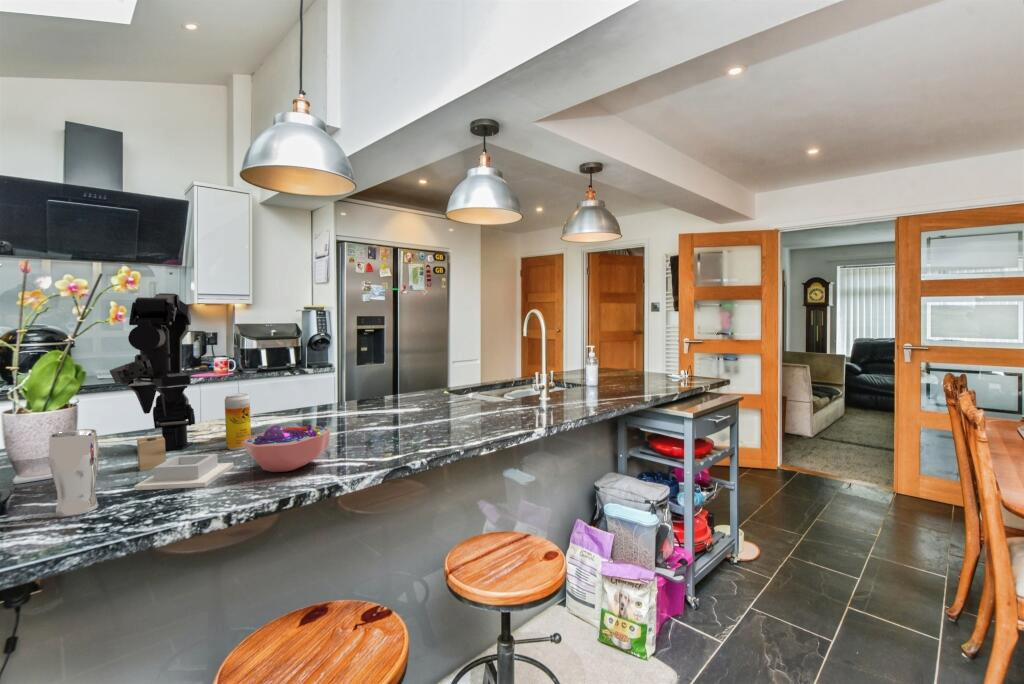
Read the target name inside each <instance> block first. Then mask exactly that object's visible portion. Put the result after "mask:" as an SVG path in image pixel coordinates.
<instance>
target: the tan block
mask: <svg viewBox="0 0 1024 684" xmlns="http://www.w3.org/2000/svg"><path fill="white" fill-rule="evenodd" d="M136 445H137V447H136V449H137V467H138V470H139V472H146V471H151V470H154V467H156V466H158V465H160V464H162V463H163V462H165V461H167V457H166V455H167V454H166V450H165V438H164V437H163V436H162V434H161V435H155V436H148V437H141V438H140V437H139V438H136Z"/></svg>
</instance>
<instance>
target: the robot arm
mask: <svg viewBox="0 0 1024 684" xmlns="http://www.w3.org/2000/svg"><path fill="white" fill-rule="evenodd" d="M191 315H192V314H191V312H190V307H189V305H188V304H186V303H184V301H182V300H181V299H180V295H179V294H177V293H158V294H155V296H153V297H141V296H138V297H136V298H135V300H134V301H133V302H132V303H131V307H130V316H129V321H128V325H129V326H135V327H134V328H132V329H131V330H130V331H129V333H128V337H127V339H128V343H129V344H130V346H132V347H133V349H135V350H138V351H139V354H136V355H135V356H134V361H131V362H128V363H125V364H123V365H120V366H118V367H114V368H113V369H110V370H109V373H110V375H111V377H112V380H113V382H114V383H115V384H118V383H119V384H121V385H123V386H124V385H125V387H124V388H126V389H129V390H130V391H132V392H133V393H135V395H136V398H137V399H138V403H139V405H140V407H141V410H142V411H143V414H146V415H147V414H150V413H151V410H152V419H153V425H154V429H155V430H156V429H161V433H162V434H161V435H162V436H163V437H164V438H165V451H172V450H173V451H174V450H176V451H177V450H182V449H183V450H184V449H185V448H187V447H189V446H191V445H193V444H194V441H188V426H189V427H190V426H191V427H192V425H195V424H196V416H195V411H194V408H193V407H192V404H191V403H189V402H190V401H189V400H190V399H189V398H188V396H187V395H186V394H185V393H184V391H185V390H186V389H187V388H188V385H191V384H192V380H191V379H192V378H191V377H192V376H191V375H190V374H189V373H188V372H183V341H184V338H185V337H186V336H187V335H188V333H189V328H190V327H189V326H191V324H192V316H191ZM157 393H159V395H157V397H156V394H157ZM155 397H156V398H155ZM154 401H155V406H153V404H154ZM152 408H153V409H152Z"/></svg>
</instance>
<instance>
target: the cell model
mask: <svg viewBox="0 0 1024 684" xmlns="http://www.w3.org/2000/svg"><path fill="white" fill-rule="evenodd" d="M330 436H331V430H330V429H329V428H326V427H322V426H321V425H320V426H319V425H317V426H312V424H308V425H307V426H298V427H297V426H296V427H295V426H294V427H293V426H292V427H290V426H289V427H281V426H280V425H279V424H273V425H271V426H270V427H268V428H267V429H266V430H265V431H263V432H260V433H257V434H254V435H251V437H248V438H246V439H245V440H243V441H242V444H243V446H244V447H245V450H246V452H247V453H248V455H249V456H250V457H251V458H252V459H253V460H254V461H255V462H256V464H258V465H259V466H260V467H261V468H262V469H263V470H264V471H266V472H267V471H268V472H272V473H285V472H290V471H294V470H296V469H298V468H301V467H303V466H306V465H307V464H309V463H310V462H312V461H315V460H316V459H317V458H318V457H320V456H321V455H322V454H323V453H324V452H325V451H326V450H327V448H328V447H329V444H330Z"/></svg>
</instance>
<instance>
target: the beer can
mask: <svg viewBox="0 0 1024 684" xmlns="http://www.w3.org/2000/svg"><path fill="white" fill-rule="evenodd" d="M250 401H251V398H250V397H249V393H246V392H245V393H232V394H227V395H226V396H225V398H224V416H225V418H224V419H225V421H224V422H225V446H226V447H227V449H228V450H229V451H240V450H244V449H245V447H244V446H243V444H242V441H243V440H245V439H246V438H248V437H251V436H252V432H251V431H252V429H251V428H252V427H251V402H250ZM245 450H246V449H245Z"/></svg>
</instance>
